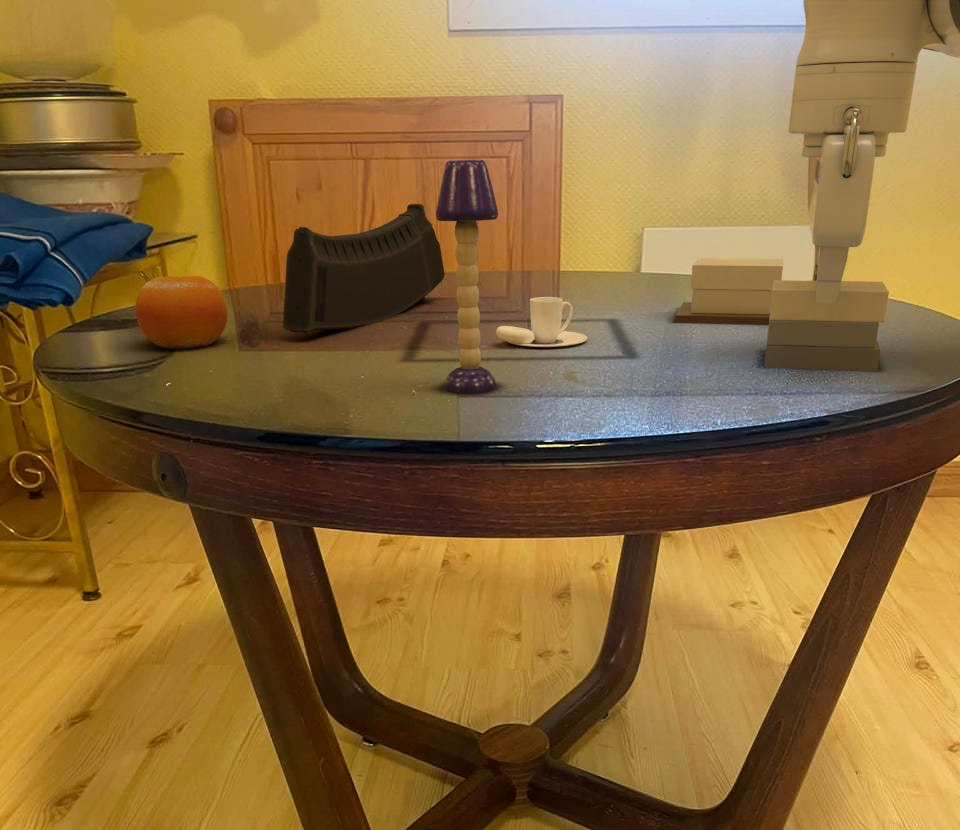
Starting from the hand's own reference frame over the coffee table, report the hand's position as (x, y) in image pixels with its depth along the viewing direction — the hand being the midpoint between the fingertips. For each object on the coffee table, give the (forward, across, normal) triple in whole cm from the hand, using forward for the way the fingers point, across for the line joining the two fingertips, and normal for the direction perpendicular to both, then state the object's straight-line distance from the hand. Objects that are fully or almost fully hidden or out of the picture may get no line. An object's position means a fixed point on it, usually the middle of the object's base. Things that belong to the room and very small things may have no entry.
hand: (823, 294), depth 85 cm
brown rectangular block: (+6, 0, 0) cm, 6 cm away
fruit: (+6, -2, +60) cm, 60 cm away
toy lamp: (+6, -15, +27) cm, 31 cm away
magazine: (+6, +16, +47) cm, 50 cm away
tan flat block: (+2, 0, 0) cm, 2 cm away
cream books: (+6, +22, +8) cm, 24 cm away
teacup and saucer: (+6, +6, +28) cm, 29 cm away
